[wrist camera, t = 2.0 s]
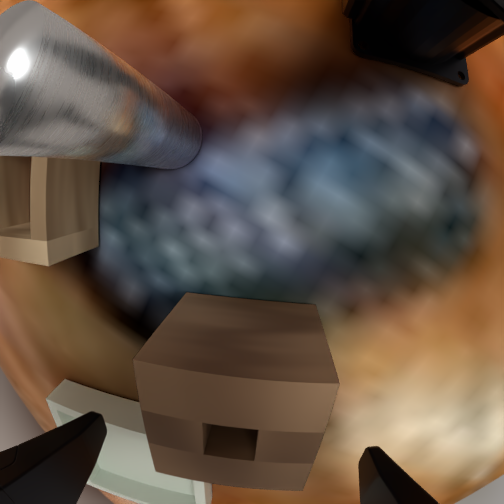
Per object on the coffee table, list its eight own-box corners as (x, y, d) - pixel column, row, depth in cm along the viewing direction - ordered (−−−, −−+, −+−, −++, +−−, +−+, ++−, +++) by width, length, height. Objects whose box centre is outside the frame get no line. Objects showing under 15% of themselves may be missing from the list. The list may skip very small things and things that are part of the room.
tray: (210, 416, 15) (201, 446, 13) (212, 496, 18) (207, 519, 15) (64, 378, 16) (45, 398, 14) (98, 465, 18) (87, 483, 16)
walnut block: (315, 304, 13) (339, 383, 8) (297, 403, 15) (302, 490, 9) (186, 292, 14) (132, 359, 8) (188, 391, 15) (155, 471, 9)
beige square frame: (104, 118, 12) (54, 103, 8) (98, 246, 14) (48, 266, 10) (23, 133, 13) (-25, 128, 9) (20, 238, 14) (-26, 252, 10)
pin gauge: (205, 108, 12) (65, -23, 2) (199, 170, 12) (20, 143, 3) (147, 111, 12) (-27, 33, 2) (141, 169, 13) (-56, 164, 3)
